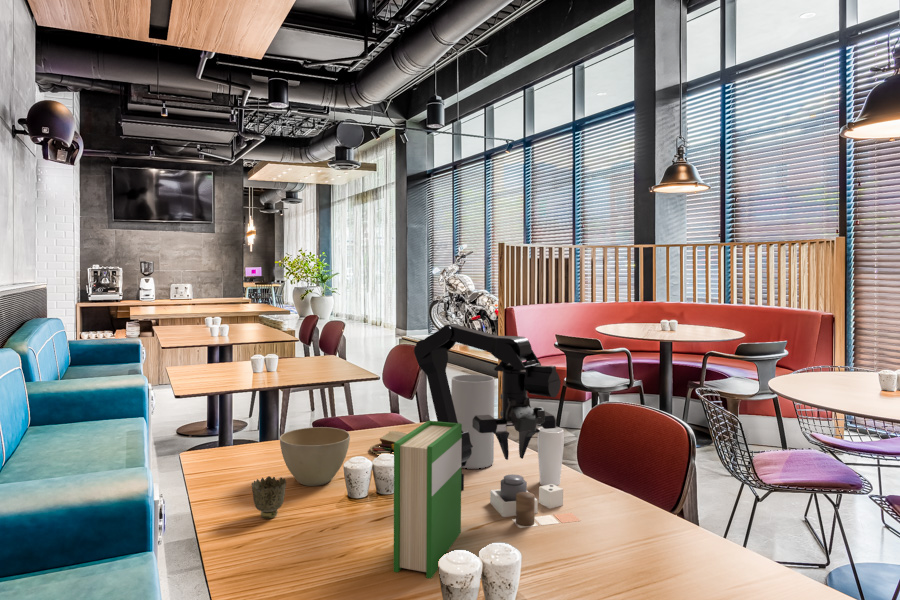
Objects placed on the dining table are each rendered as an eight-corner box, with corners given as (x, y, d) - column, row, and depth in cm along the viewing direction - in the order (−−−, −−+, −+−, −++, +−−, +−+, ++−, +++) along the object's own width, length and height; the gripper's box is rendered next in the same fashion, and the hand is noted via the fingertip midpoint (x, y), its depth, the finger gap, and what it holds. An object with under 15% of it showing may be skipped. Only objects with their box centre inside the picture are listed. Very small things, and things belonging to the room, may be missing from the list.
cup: (292, 512, 133) (292, 478, 132) (273, 525, 126) (272, 489, 125) (265, 508, 135) (265, 474, 135) (244, 520, 128) (244, 485, 128)
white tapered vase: (562, 491, 147) (563, 433, 146) (536, 489, 148) (536, 431, 148) (563, 482, 153) (564, 426, 153) (537, 480, 155) (538, 425, 154)
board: (513, 535, 121) (514, 517, 121) (488, 506, 137) (488, 490, 137) (590, 526, 126) (591, 508, 126) (558, 499, 142) (558, 483, 142)
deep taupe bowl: (299, 499, 141) (299, 449, 140) (268, 479, 154) (268, 434, 154) (362, 482, 153) (362, 436, 152) (328, 465, 166) (328, 423, 166)
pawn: (520, 527, 123) (520, 499, 123) (513, 519, 127) (513, 492, 127) (537, 525, 124) (537, 497, 124) (529, 517, 128) (530, 491, 128)
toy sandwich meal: (361, 452, 180) (361, 437, 179) (391, 443, 190) (391, 428, 190) (390, 460, 172) (390, 444, 172) (420, 450, 183) (420, 435, 182)
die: (549, 509, 134) (550, 491, 134) (538, 503, 137) (539, 486, 137) (563, 505, 136) (563, 488, 136) (551, 500, 139) (552, 483, 139)
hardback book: (431, 578, 104) (432, 446, 103) (393, 571, 106) (394, 442, 105) (460, 537, 121) (461, 423, 120) (427, 532, 123) (428, 420, 122)
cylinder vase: (501, 461, 171) (502, 377, 170) (480, 472, 161) (481, 383, 160) (464, 453, 178) (465, 373, 177) (442, 464, 167) (443, 379, 166)
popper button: (505, 505, 130) (506, 483, 130) (496, 495, 136) (497, 474, 136) (530, 502, 132) (530, 481, 132) (520, 493, 138) (520, 472, 137)
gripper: (487, 400, 123) (487, 473, 123) (567, 396, 128) (566, 466, 128) (472, 391, 133) (471, 457, 134) (546, 387, 138) (545, 451, 139)
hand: (514, 458), depth 133 cm, fingers open, 3 cm apart
